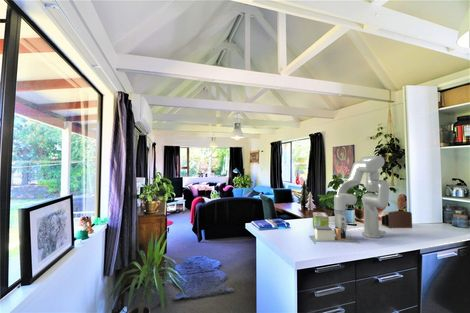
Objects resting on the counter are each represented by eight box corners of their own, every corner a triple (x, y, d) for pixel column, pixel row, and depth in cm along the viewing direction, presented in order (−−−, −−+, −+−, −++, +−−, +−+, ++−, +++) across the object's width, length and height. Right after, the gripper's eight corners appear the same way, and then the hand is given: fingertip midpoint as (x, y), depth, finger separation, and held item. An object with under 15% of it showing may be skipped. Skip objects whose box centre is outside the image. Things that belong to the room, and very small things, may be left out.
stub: (343, 238, 163) (342, 228, 163) (345, 240, 159) (345, 229, 159) (335, 238, 163) (335, 228, 164) (338, 239, 159) (337, 229, 160)
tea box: (329, 235, 172) (328, 216, 173) (315, 235, 174) (314, 215, 175) (325, 230, 187) (325, 212, 187) (312, 229, 189) (312, 211, 189)
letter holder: (412, 228, 192) (412, 211, 193) (389, 228, 192) (388, 211, 192) (403, 224, 202) (403, 208, 203) (381, 225, 202) (381, 209, 202)
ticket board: (350, 237, 168) (350, 225, 168) (360, 244, 154) (359, 230, 154) (309, 237, 169) (309, 224, 170) (314, 243, 155) (314, 230, 156)
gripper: (350, 214, 153) (351, 240, 152) (340, 209, 170) (340, 232, 170) (339, 214, 153) (339, 240, 153) (330, 209, 171) (330, 232, 170)
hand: (340, 236), depth 161 cm, fingers open, 9 cm apart
